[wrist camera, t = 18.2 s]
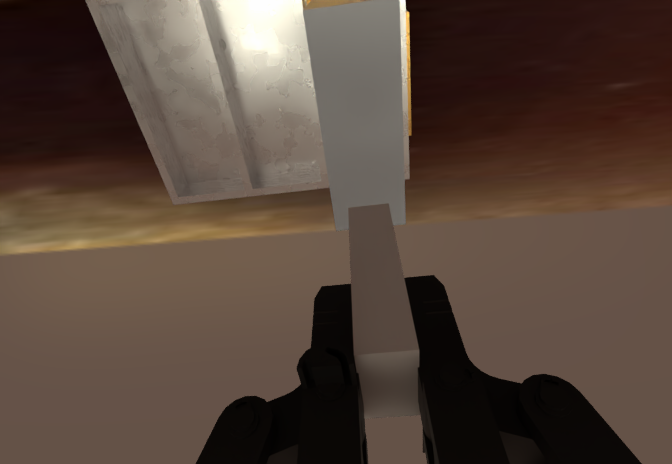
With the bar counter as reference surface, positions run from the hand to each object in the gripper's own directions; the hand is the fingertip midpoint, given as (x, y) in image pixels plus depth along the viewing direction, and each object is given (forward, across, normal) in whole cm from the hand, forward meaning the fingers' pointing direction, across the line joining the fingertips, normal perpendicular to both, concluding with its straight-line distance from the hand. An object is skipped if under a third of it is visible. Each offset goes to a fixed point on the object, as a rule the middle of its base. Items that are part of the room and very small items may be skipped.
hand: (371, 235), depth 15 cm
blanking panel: (+25, 0, 0) cm, 25 cm away
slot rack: (+25, -8, 0) cm, 26 cm away
